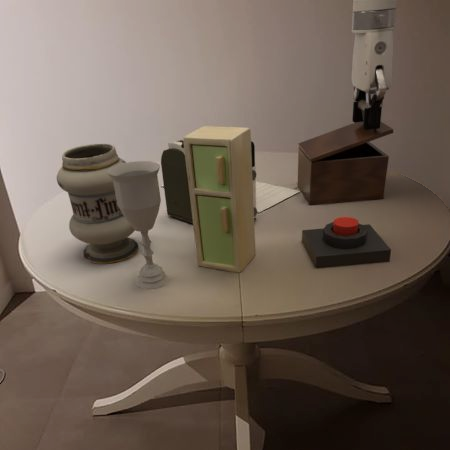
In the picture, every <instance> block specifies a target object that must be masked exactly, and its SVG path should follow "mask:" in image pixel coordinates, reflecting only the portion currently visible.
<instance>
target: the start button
mask: <svg viewBox="0 0 450 450" xmlns="http://www.w3.org/2000/svg"><path fill="white" fill-rule="evenodd" d="M332 222H333V233H335V234H338V235H344V236H348V235H355V234H357V233H358V225H359V224H360V223H359V220H358V219H356V218H354V217H350V216H341V217H336V218H335V219H333V221H332Z"/></svg>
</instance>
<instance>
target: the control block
mask: <svg viewBox="0 0 450 450" xmlns="http://www.w3.org/2000/svg"><path fill="white" fill-rule="evenodd" d="M301 242H302V245H303V247H304V249H305V250H306V252H307V254H308V256H309V258H310V260H311V262H312V264H313V266H314V268H315V269H324V268H335V267H347V266H357V265H358V266H359V265H367V264H368V265H369V264H378V263H388V262H390V260H391V253H392V249H391V247H390V246H388V244H387V242H385V240H384V239H382V237H381V236H380V235H379V233H378V232H377V231H376V230H375V229H374V228H373V226H372V225H371V224H369V223H367V224H361V223H359V225H358V233H357V234H355V235H348V236H344V235H338V234H335V233H333V221H332V222H329V223H327V224H325V226H324V227H323V228H314V229H313V228H312V229H302V230H301Z"/></svg>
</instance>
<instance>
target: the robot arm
mask: <svg viewBox="0 0 450 450" xmlns="http://www.w3.org/2000/svg"><path fill="white" fill-rule="evenodd" d="M397 8H398V0H353V1H352V18H351V19H352V20H351V33H352V34H355V35H354V43H353V51H352V64H351V84H352V86H353V91H354V93H353V98H352V99H353V102H352V103H353V104H352V117H351V119H352V122H353V123H355V122H363V116H362V110H361V109H359V108H358V103H359V101H361V100H365V101H366V105H367V108H364V122H363V129H364V130H370V129H379V128H380V123H381V122H382V112H383V111H382V110H383V107H384V99H385V95H386V93H387V91H389V90H390V89H391V88H392V83H393V82H392V81H393V64H394V32H393V31H394V30H395V27H396V19H397ZM373 88H374V89H373Z"/></svg>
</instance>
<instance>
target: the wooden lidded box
mask: <svg viewBox="0 0 450 450" xmlns="http://www.w3.org/2000/svg"><path fill="white" fill-rule="evenodd" d="M297 151H298V153H297V154H298V156H297V188H298V190H299V191H300V193H301V195H302V196H303V197H304V199H305V201H306V202H307V204H308V205H309V206H313V205H315V206H317V205H328V204H338V203H350V202H361V201H373V200H383V199H384V195H385V190H386V189H385V188H386V181H387V173H388V166H389V161H390V160H389V159H390V156H389V155H387V154H386V153H385V152H384V151H382V150H381V149H380V148H378V147H377V146H376V145H374V144H373V143H372V142H371V141H369V142H367V143H364V144H361V145H358V146H356V147H353V148H350V149H347V150H345V151H342V152H339V153H336V154H334V155H331V156H328V157H325V158H322V159H320V160H317V161H314V162H311V161H310V160H309V158H308V157H307V156H306V155H305V153H304V152H303V151H302V150H301V149H300V147H299V146H298V150H297Z"/></svg>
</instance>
